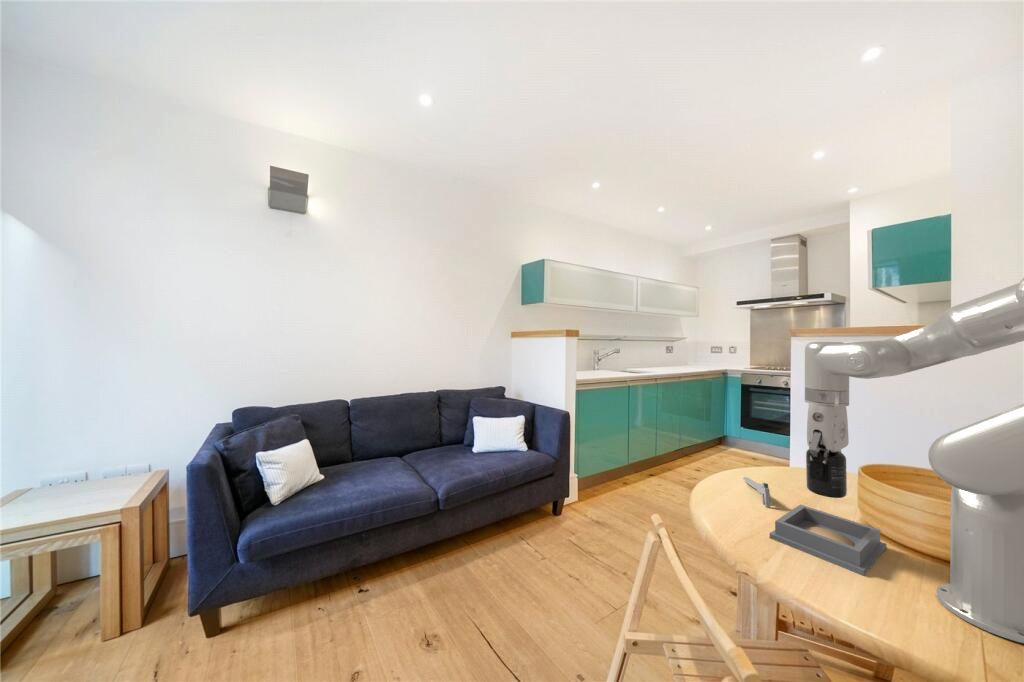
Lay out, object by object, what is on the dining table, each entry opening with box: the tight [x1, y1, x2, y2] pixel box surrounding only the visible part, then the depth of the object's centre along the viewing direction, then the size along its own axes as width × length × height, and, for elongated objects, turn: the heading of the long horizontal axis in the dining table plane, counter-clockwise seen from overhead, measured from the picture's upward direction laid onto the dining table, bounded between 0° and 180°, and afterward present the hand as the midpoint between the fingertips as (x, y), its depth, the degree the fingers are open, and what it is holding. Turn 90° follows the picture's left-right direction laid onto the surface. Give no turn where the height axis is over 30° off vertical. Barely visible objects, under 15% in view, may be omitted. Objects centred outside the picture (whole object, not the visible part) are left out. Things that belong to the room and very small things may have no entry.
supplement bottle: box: [805, 446, 848, 499], centre depth 81 cm, size 7×7×12 cm
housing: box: [769, 504, 887, 576], centre depth 81 cm, size 16×16×4 cm
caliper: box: [742, 476, 771, 508], centre depth 108 cm, size 20×1×6 cm, turn 163°
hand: (825, 475), depth 81 cm, fingers closed on supplement bottle, 6 cm apart
